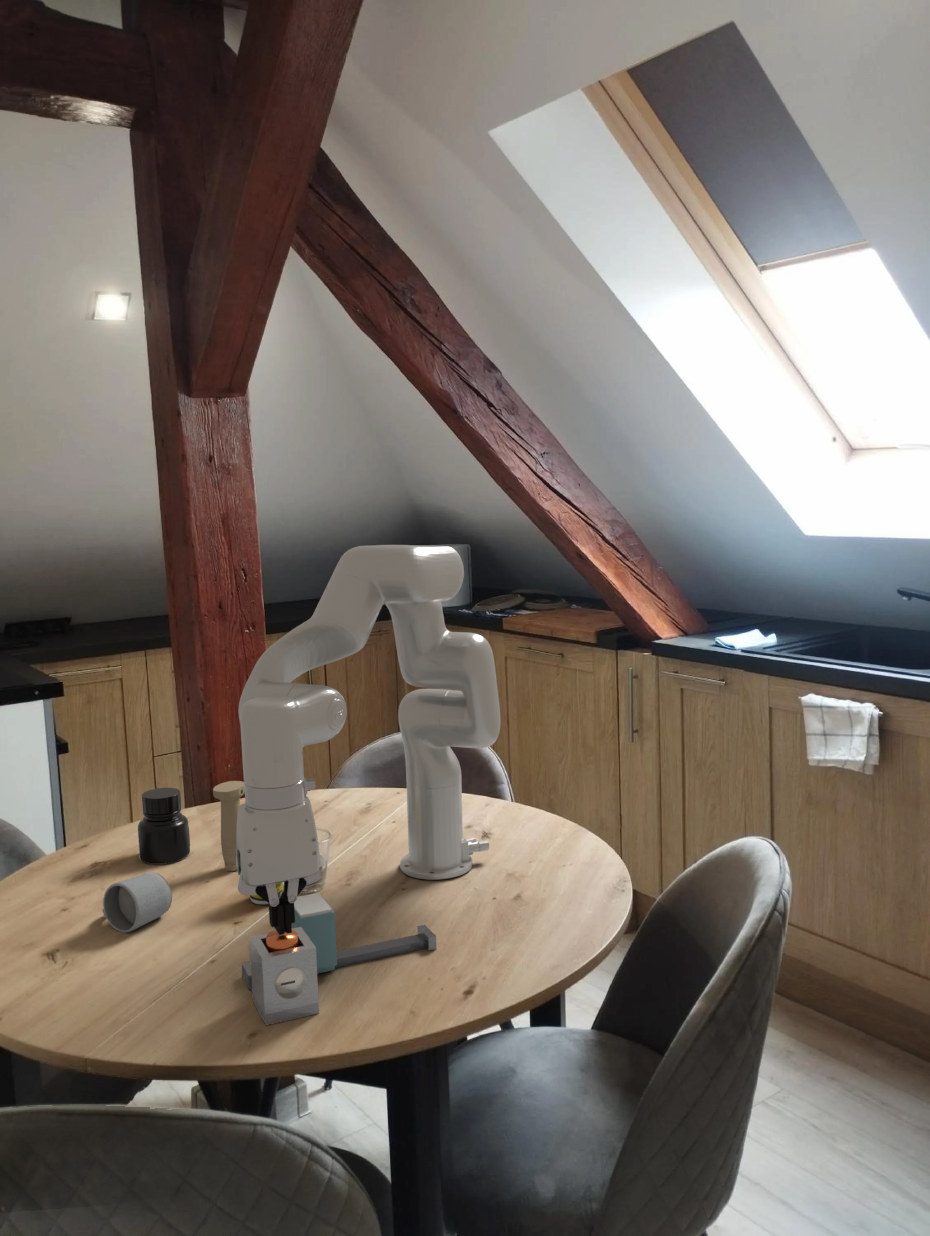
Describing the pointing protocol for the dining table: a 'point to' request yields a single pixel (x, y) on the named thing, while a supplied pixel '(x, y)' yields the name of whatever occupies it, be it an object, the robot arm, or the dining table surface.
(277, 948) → the plunger
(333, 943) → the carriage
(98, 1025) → the dining table surface
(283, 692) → the robot arm
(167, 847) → the ink bottle
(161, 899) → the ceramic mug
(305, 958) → the grey button box
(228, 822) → the handle
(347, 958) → the rail
